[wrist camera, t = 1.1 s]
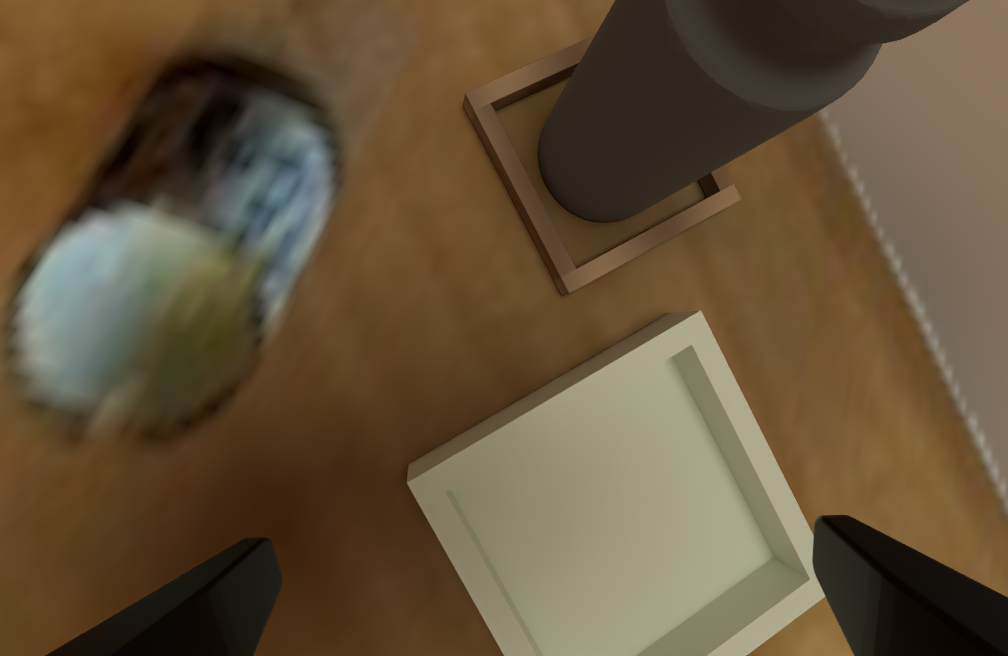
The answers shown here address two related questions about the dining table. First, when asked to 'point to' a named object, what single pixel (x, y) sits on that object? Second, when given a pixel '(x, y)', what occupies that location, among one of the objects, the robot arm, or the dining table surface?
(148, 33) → the dining table surface
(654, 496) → the tray
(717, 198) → the seat frame
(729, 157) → the bottle
